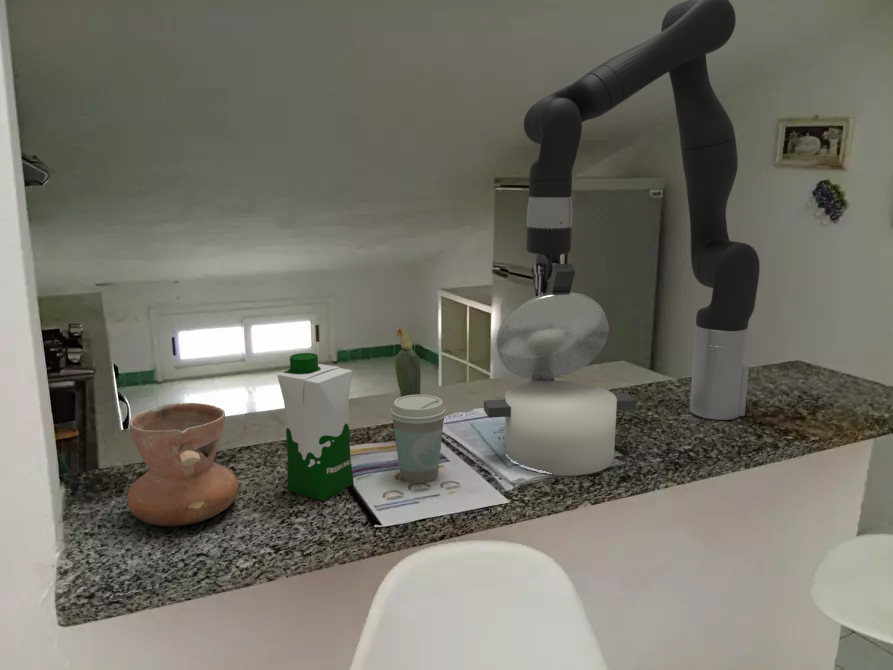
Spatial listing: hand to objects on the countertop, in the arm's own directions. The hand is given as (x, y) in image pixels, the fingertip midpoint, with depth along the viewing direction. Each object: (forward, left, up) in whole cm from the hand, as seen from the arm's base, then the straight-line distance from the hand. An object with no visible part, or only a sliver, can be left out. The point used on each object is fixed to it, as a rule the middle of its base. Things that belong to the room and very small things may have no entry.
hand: (546, 325), depth 124 cm
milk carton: (+39, +16, -20) cm, 47 cm away
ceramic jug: (+58, +20, -20) cm, 64 cm away
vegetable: (+24, -2, -20) cm, 31 cm away
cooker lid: (0, +5, -1) cm, 5 cm away
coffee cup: (+24, +14, -20) cm, 34 cm away
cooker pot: (0, +9, -20) cm, 22 cm away
